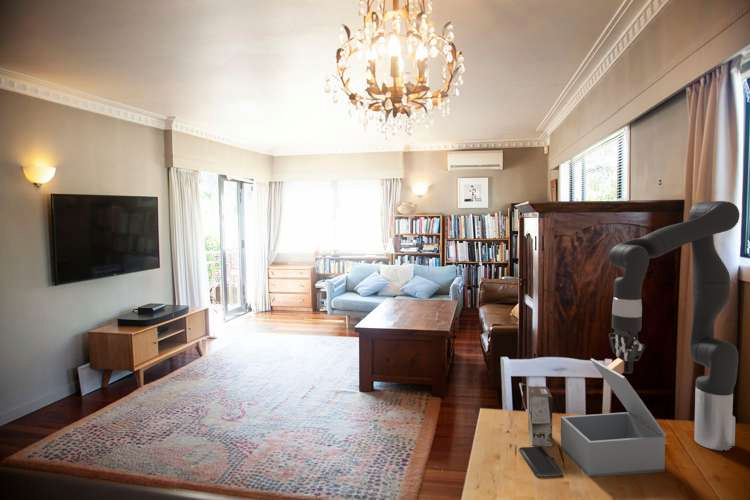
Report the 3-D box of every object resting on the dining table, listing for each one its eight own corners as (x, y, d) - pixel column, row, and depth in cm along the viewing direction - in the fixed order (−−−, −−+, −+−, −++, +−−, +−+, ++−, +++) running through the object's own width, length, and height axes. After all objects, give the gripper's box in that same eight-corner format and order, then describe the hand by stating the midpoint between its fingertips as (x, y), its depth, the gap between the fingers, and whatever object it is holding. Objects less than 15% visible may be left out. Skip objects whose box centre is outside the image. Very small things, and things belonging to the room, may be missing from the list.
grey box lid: (628, 411, 140) (640, 401, 140) (665, 436, 124) (679, 425, 124) (590, 359, 138) (603, 349, 138) (622, 378, 122) (637, 366, 122)
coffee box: (553, 447, 140) (553, 397, 139) (531, 445, 141) (531, 396, 140) (547, 433, 149) (547, 386, 148) (527, 431, 150) (527, 385, 149)
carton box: (627, 442, 141) (628, 412, 140) (664, 471, 125) (665, 437, 124) (560, 447, 139) (560, 416, 139) (589, 477, 123) (589, 442, 123)
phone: (536, 475, 124) (518, 447, 139) (536, 479, 124) (518, 450, 139) (564, 473, 124) (542, 446, 139) (564, 477, 124) (542, 449, 139)
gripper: (655, 318, 123) (653, 379, 124) (623, 308, 136) (622, 363, 138) (629, 319, 122) (627, 380, 123) (600, 308, 136) (598, 364, 137)
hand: (624, 371), depth 131 cm, fingers closed on grey box lid, 2 cm apart
